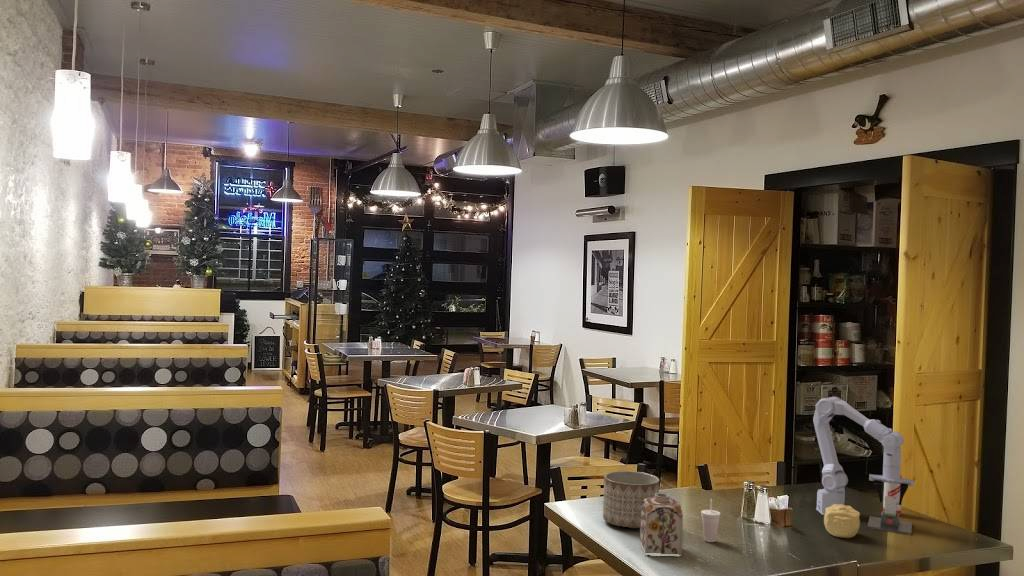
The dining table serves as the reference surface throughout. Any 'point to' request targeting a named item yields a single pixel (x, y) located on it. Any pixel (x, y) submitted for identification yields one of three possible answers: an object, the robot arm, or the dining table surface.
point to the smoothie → (710, 523)
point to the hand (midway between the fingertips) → (890, 502)
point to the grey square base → (889, 524)
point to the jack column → (890, 506)
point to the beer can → (892, 494)
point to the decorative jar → (661, 525)
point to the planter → (627, 496)
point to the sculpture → (842, 521)
